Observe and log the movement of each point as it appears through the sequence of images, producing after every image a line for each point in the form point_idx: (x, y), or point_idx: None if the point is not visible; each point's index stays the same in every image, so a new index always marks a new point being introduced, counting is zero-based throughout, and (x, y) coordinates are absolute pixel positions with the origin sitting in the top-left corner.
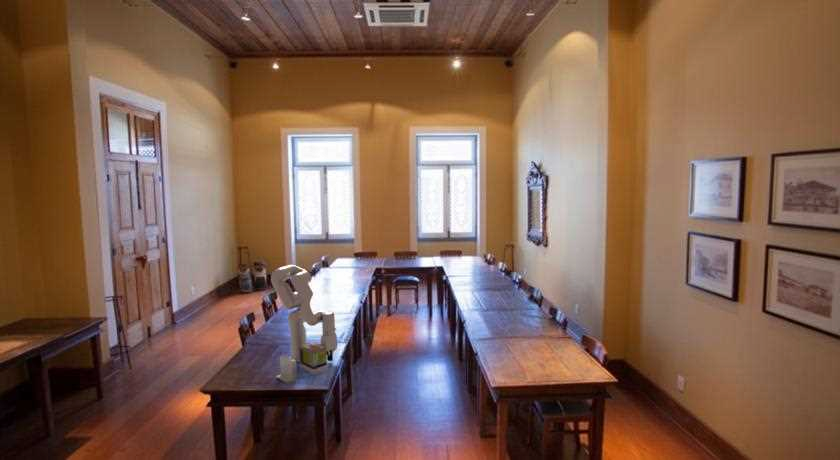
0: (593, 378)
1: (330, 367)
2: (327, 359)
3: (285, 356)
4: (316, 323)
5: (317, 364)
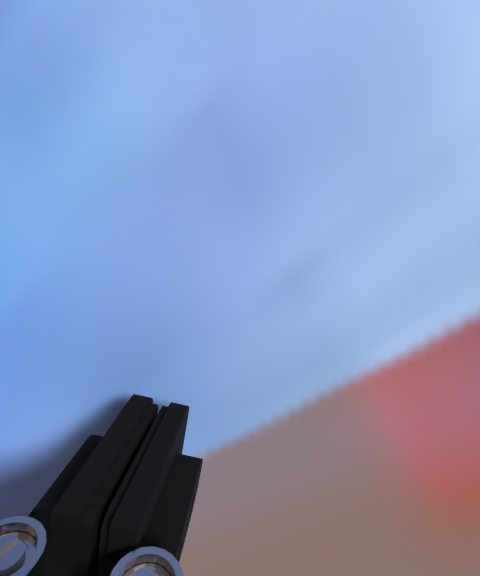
0: None
1: None
2: (94, 437)
3: None
4: None
5: None
